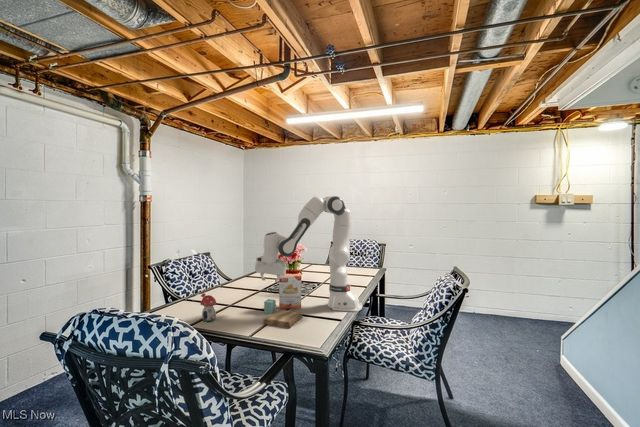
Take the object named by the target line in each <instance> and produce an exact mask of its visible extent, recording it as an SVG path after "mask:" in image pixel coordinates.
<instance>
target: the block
mask: <svg viewBox="0 0 640 427" xmlns="http://www.w3.org/2000/svg"><path fill="white" fill-rule="evenodd" d="M263 302H264V303H263V304H264V305H263V309H264V310H263V313H264V314H269V315H271V314H272V313H274V312H275V311H277V309H276V306H277V305H276V302H277V301H276V299H272V298H271V299H270V298H268V299H266V300H265V301H263Z"/></svg>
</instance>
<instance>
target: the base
mask: <svg viewBox="0 0 640 427" xmlns="http://www.w3.org/2000/svg"><path fill="white" fill-rule="evenodd" d="M302 318H303V313H302V312H298V311H293V310H287V309H285V310H283V309H276V311H275V312H274V313H272V314H269V315H268V316H266V317H265V319H263V324H264V325H269V326H274V327H279V328H286V329H292V328H293V326H294V325H295V324H296V323H298V322H299V321H300V320H301V319H302Z"/></svg>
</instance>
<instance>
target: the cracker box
mask: <svg viewBox="0 0 640 427" xmlns="http://www.w3.org/2000/svg"><path fill="white" fill-rule="evenodd" d="M278 284H279V285H278V286H279V292H278V294H279V296H278V297H279V298H278V302H279V304H278V308H279V310H283V309H302V274H300V273H299V274H298V273H297V274H294V273H292V274H291V273H290V274H288V273H286V274H285V275H283V276H280V278H279V282H278Z"/></svg>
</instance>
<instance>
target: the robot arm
mask: <svg viewBox="0 0 640 427" xmlns="http://www.w3.org/2000/svg"><path fill="white" fill-rule="evenodd" d="M323 212H325V213H327V214H333V217H334V219H333V220H334V221H333V229H332V246H331V247H330V248H329V250H328V258H329V259H328V262H329V272H330V274H329V277H330V278H329V279H330V280H329V288H328V290H329V296H328V302H327V307H328V308H330V309H331V310H332V311H338V312H339V311H340V312H355V313H357V312H359V311H361V310H362V309H363V304H362V303H361V302H360V300H359V297H358V296H357V295H356V294H355V293H354V292H353V291H352V290H351V285H349V284H348V269H347V264H348V263H349V262H350V261H351V260H350V259H351V256H350V255H351V254H350V248H351V247H350V246H351V245H350V244H351V243H350V235H351V229H352V228H351V227H352V212H351V210H350V209H349V208H346V205H345V202H344V200H343V199H342V198H341V197H340V196H337V195H336V196H335V195H330V196H326V197H324V198H322V197H321V196H315V195H314V196H313V197H311V198H310V199H309V201H307V202H306V203H305V205H304V206H303V207H302V209H301V210H300V212H299V214H298V215H297V216H298V219H297V224H296V226H295V228H294V229H293V230H292V232H291V233H290V235H289V236H288V237H286V236H283V235H281V234H280V233H278V232H277V231H271V232H268V233H266V234H265V235H264V238H263V255H261V256H257V257H256V258H255V261H256V262H255V264H254V270H255V273H258V274H259V275H260V277H261V281H266V276H265V275H271V276H272V275H273V276H276V279H274V282H275V283H279V278H280V276H283V275H285V274H287V268H286V266H287V265H286V261H285V260H283V259H279V254H280V255H281V256H282V257H286V258H288V257H291V256H293V255H294V254H295V252H296V250H297V246H298V243H299V242H300V240H301V239H302V238H303V237H304V235H305V233H306V232H307V231H308V229H310V227H311V226H312V225H313V224H314V223H315V222H316V220H317V219H318V218H319V217H320V215H321V214H323ZM264 274H265V275H264Z"/></svg>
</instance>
